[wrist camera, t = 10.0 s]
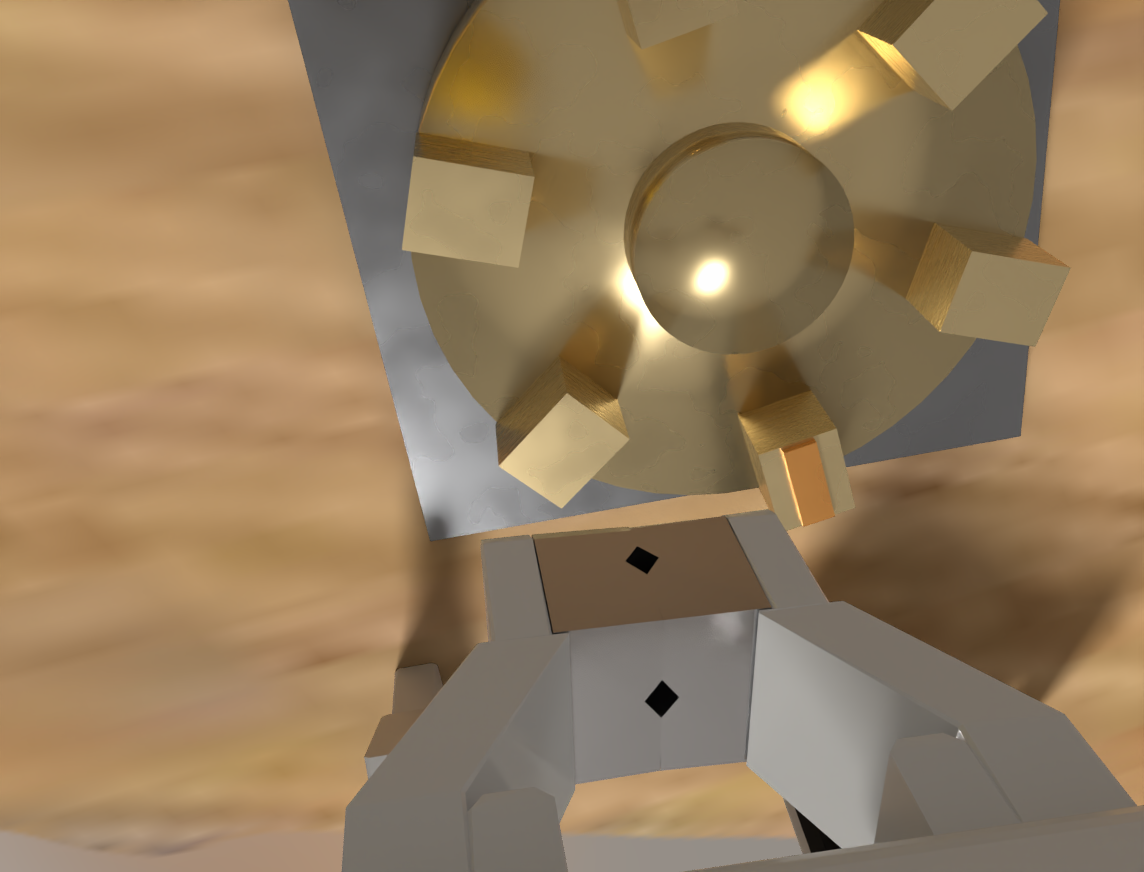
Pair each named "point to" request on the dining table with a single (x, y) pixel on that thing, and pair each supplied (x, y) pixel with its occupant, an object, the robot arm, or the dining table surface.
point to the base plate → (408, 347)
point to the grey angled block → (403, 710)
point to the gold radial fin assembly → (723, 230)
